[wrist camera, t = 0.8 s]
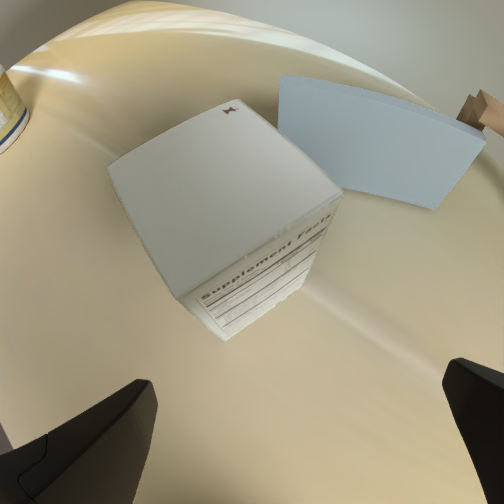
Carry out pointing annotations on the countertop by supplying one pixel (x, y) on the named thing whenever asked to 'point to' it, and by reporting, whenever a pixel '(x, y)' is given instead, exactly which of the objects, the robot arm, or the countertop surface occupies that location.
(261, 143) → the supplement box
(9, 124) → the supplement tub
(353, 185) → the door
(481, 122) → the door frame
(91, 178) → the countertop surface
